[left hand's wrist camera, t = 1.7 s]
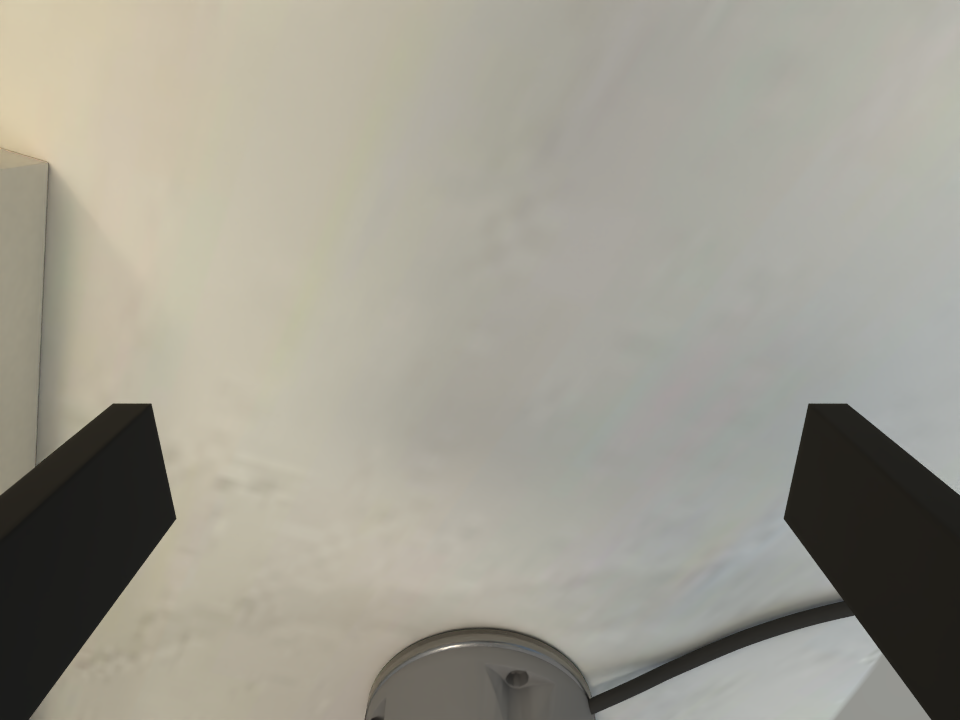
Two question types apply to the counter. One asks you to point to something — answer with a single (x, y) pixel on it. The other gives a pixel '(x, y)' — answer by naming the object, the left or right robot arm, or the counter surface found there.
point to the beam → (20, 309)
